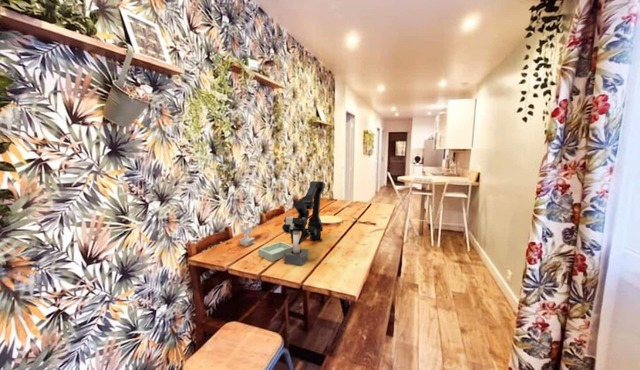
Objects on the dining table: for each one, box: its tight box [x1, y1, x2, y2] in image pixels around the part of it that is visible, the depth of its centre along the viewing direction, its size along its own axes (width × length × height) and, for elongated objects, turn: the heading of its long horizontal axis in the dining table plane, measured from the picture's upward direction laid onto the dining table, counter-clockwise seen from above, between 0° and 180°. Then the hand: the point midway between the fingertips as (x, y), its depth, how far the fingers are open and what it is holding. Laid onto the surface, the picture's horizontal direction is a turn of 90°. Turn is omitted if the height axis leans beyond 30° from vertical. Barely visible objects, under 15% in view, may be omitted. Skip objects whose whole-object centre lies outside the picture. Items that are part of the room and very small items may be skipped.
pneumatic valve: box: [283, 215, 298, 227], centre depth 188 cm, size 6×12×12 cm, turn 53°
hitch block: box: [283, 247, 309, 267], centre depth 140 cm, size 10×10×5 cm
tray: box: [258, 241, 293, 262], centre depth 148 cm, size 16×12×4 cm
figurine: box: [238, 220, 256, 247], centre depth 162 cm, size 7×9×15 cm
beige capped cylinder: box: [292, 231, 301, 254], centre depth 139 cm, size 4×4×13 cm
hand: (295, 244), depth 137 cm, fingers closed on beige capped cylinder, 4 cm apart
